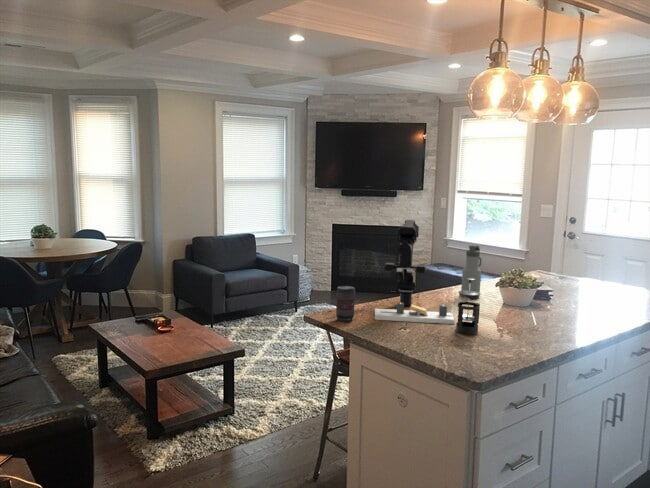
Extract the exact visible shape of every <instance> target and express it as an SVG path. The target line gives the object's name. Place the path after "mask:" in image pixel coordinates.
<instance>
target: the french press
mask: <svg viewBox="0 0 650 488" xmlns="http://www.w3.org/2000/svg"><path fill="white" fill-rule="evenodd" d="M465 279H466V280H469V283H471V280H476V279H474V278H465ZM479 295H480V296H481V292H480V293H479V292H475V291H470V285H469V291H461V290H459V291H458V297H463V296H466V297H467V298H466V299H468V301H459V302H457V306H456V307H457V308H458V309H457V310H458V311H457V322H456V323H455V329H454V330H455V331H454V332H455V333H456V334H459V335H463V336H477V335H478V334H479V322H480V321H479V320H480V309H481V308H480V307H481V303H480V302H472V301H477V300H480V296H479ZM470 300H471V301H470ZM464 310H467V314H464ZM469 311H472V315H471V314H469Z"/></svg>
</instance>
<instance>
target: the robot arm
mask: <svg viewBox="0 0 650 488" xmlns="http://www.w3.org/2000/svg"><path fill="white" fill-rule="evenodd" d="M419 231H420V226H418V225H417V224H416V221H415V220H413V219H407V220H404V224H402V225H400V227H399V228H398V233H397V242H400V243H399V245H398V250H397V251H398V253H399V255H397V256H396V257H397V259H396V263H397V264H398V265H397V264H395V262H386V263H385V264H384V271H387V272H388V271H393V270H396V273H397V274H398V275H399V278H398V279H399V280H398V281H397V292H396V293H397V294H399V293H400V294H399V301H398V303H400V302H401V303H404V307H410V306H411V304H413V303H412V298H413V297H412V296H413V295H416V294H417V284H416V282H415V278H414V275H413V272H414V271H416V272H417V273H418V274H420V273H421V274H426V269H427V266H426V265H425V264H417V265H416V266H415V265H413V255H414V247H415V246H414V245H415V244H416V243H417V242H418V238H419V237H420V236H419V233H420V232H419Z"/></svg>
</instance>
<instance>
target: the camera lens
mask: <svg viewBox="0 0 650 488" xmlns="http://www.w3.org/2000/svg"><path fill="white" fill-rule="evenodd" d="M355 300H356V288H355V287H354V286H349V285H340V286H339V285H338V287H337V288H336V309H335V314H336V316H335V317H336V319H337V320H336V321H337V322H339V323H342V324H343V323H345V324H349V323H353V321H354V320H353V319H354V316H355Z"/></svg>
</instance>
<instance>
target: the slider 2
mask: <svg viewBox="0 0 650 488" xmlns="http://www.w3.org/2000/svg"><path fill="white" fill-rule="evenodd" d="M438 312H439V314H440V315H446V316H447V313H448V305H446V304H439V309H438Z"/></svg>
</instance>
